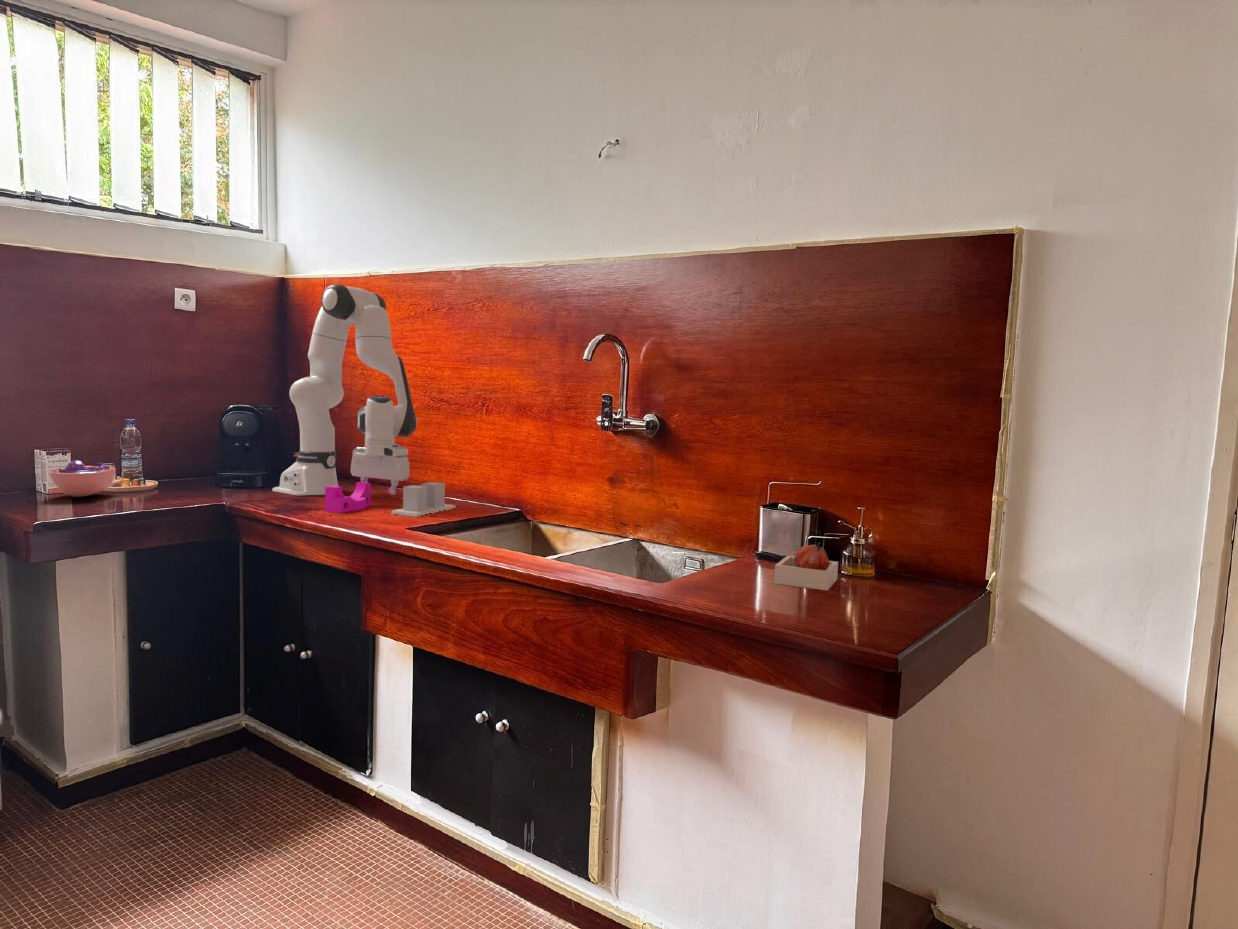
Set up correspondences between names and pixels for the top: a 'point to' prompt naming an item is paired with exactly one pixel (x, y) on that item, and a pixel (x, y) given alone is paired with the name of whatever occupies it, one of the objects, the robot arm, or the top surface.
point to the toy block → (347, 498)
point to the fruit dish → (805, 575)
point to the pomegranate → (812, 557)
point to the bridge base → (423, 500)
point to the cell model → (82, 478)
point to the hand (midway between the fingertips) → (379, 492)
